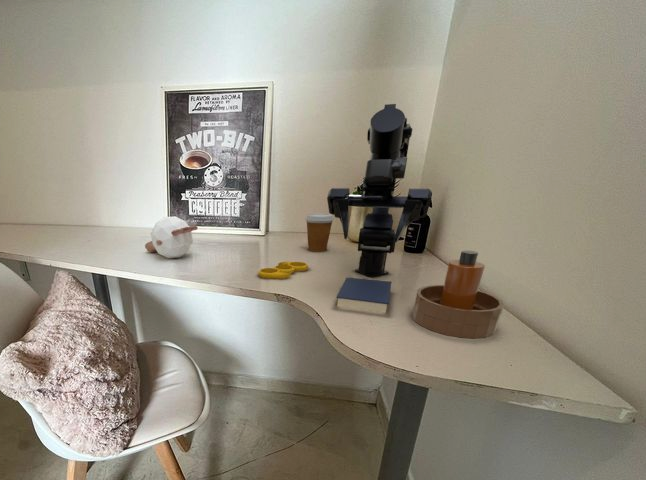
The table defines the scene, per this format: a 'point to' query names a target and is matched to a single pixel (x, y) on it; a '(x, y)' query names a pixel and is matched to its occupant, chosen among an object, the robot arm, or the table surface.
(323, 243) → the disposable coffee cup
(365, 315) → the table surface
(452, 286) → the amber bottle
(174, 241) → the stuffed white mouse
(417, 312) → the wooden bowl
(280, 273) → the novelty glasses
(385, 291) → the book
